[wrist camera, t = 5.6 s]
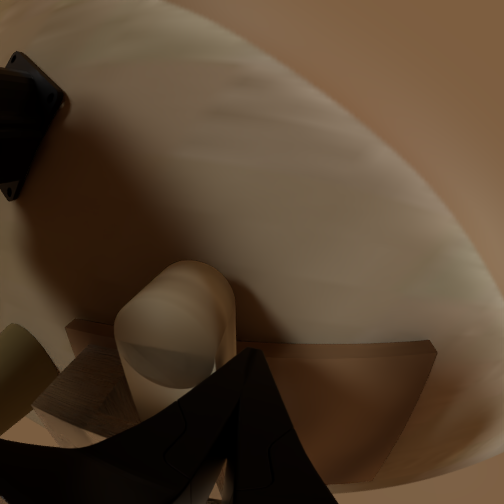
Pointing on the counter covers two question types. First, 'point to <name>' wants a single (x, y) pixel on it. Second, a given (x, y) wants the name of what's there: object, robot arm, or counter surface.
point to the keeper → (93, 403)
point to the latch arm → (175, 334)
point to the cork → (21, 374)
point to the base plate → (331, 395)
